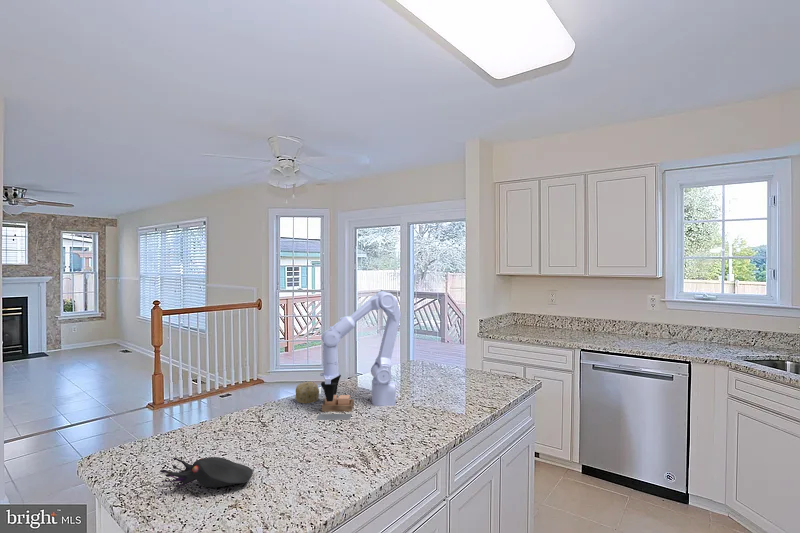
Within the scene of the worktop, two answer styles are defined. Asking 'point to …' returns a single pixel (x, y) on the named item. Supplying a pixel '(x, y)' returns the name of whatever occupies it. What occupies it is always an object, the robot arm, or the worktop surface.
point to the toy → (211, 472)
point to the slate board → (334, 417)
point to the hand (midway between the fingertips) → (331, 397)
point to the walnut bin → (338, 407)
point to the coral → (307, 392)
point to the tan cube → (331, 401)
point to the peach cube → (344, 400)
